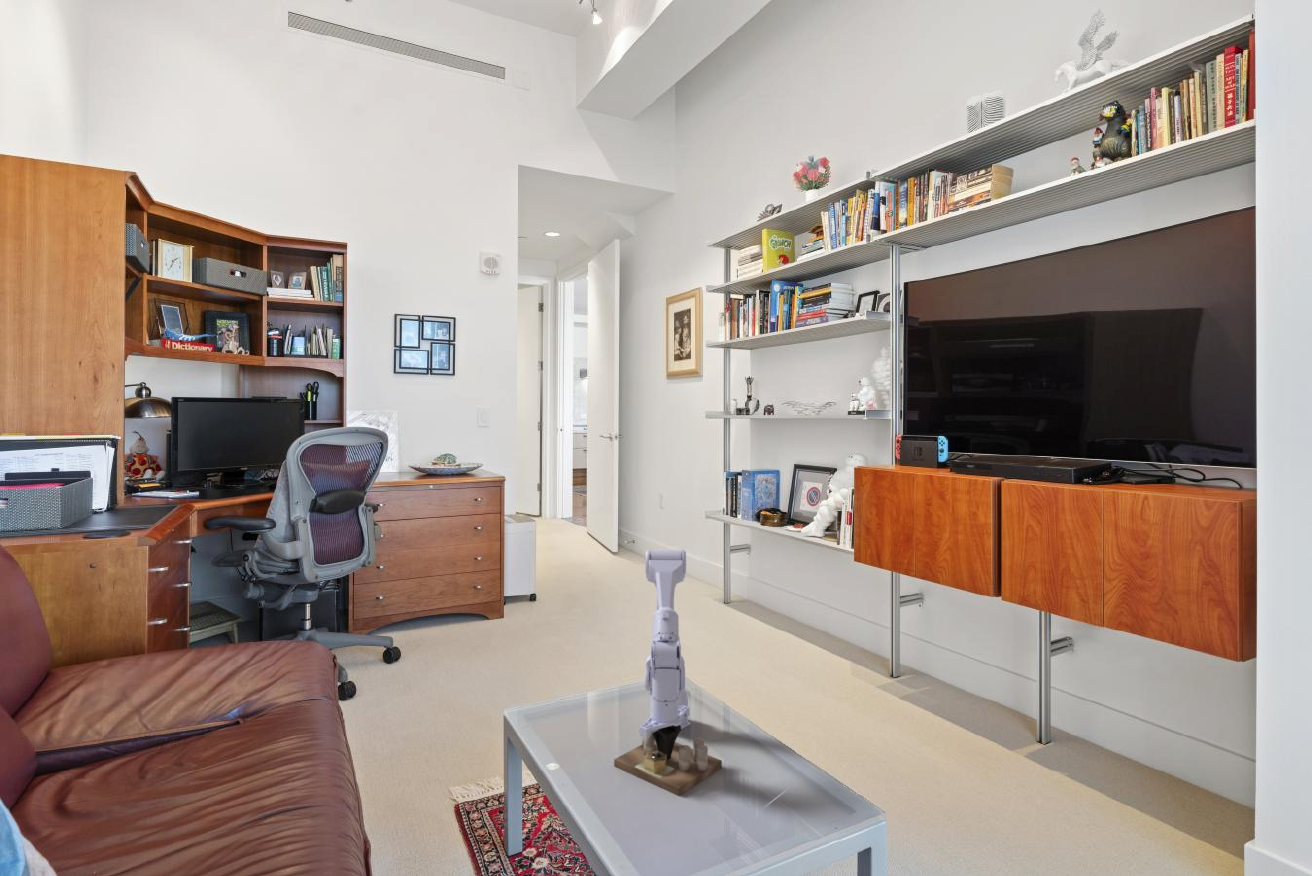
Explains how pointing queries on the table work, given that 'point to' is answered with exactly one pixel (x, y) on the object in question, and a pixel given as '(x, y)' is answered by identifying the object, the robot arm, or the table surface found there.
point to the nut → (655, 762)
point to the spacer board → (671, 765)
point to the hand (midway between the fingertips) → (665, 758)
